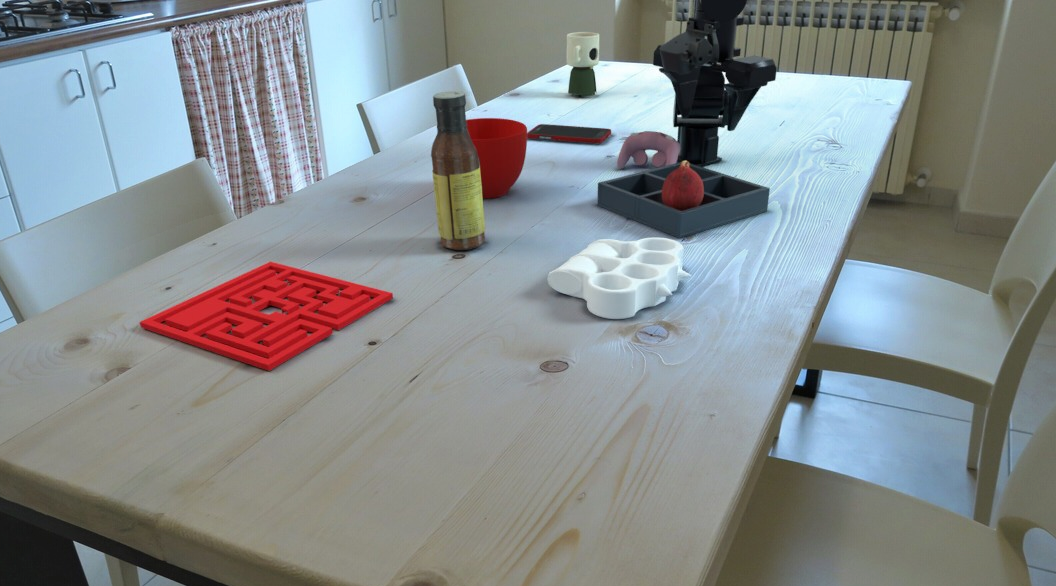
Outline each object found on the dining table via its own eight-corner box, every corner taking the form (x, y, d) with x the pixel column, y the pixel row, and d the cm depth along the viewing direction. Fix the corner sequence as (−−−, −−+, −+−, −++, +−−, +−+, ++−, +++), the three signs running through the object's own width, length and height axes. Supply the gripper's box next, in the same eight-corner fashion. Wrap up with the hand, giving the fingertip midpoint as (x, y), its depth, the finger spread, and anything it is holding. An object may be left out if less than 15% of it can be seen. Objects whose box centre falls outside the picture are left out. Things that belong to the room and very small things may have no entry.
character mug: (590, 102, 191) (592, 38, 185) (559, 100, 194) (559, 37, 187) (604, 91, 200) (605, 30, 194) (574, 89, 202) (574, 29, 196)
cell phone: (601, 144, 161) (601, 139, 160) (525, 138, 165) (525, 133, 165) (612, 134, 167) (612, 128, 166) (539, 128, 172) (539, 123, 171)
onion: (701, 225, 122) (706, 168, 118) (659, 223, 123) (662, 166, 119) (702, 211, 127) (706, 156, 123) (661, 209, 128) (664, 154, 124)
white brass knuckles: (602, 250, 116) (709, 271, 109) (533, 301, 103) (650, 329, 96) (603, 226, 114) (711, 246, 108) (533, 275, 101) (651, 301, 94)
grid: (597, 205, 132) (597, 182, 130) (681, 182, 140) (683, 161, 139) (679, 238, 119) (681, 213, 118) (767, 211, 128) (770, 188, 126)
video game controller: (677, 178, 147) (685, 136, 147) (671, 173, 143) (679, 130, 143) (621, 172, 151) (628, 131, 151) (613, 167, 147) (621, 125, 146)
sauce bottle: (492, 238, 121) (486, 89, 112) (475, 254, 116) (468, 100, 106) (448, 233, 123) (438, 87, 113) (429, 249, 118) (418, 98, 108)
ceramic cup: (409, 200, 136) (404, 135, 131) (486, 174, 147) (483, 113, 142) (468, 218, 128) (465, 150, 123) (545, 189, 139) (544, 126, 134)
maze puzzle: (269, 370, 90) (268, 365, 89) (140, 327, 99) (139, 322, 99) (393, 298, 104) (392, 293, 104) (271, 266, 114) (270, 261, 113)
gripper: (626, 8, 123) (622, 120, 131) (725, 25, 110) (714, 148, 118) (685, 0, 129) (678, 108, 137) (785, 15, 115) (771, 133, 123)
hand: (707, 123), depth 128 cm, fingers open, 9 cm apart
